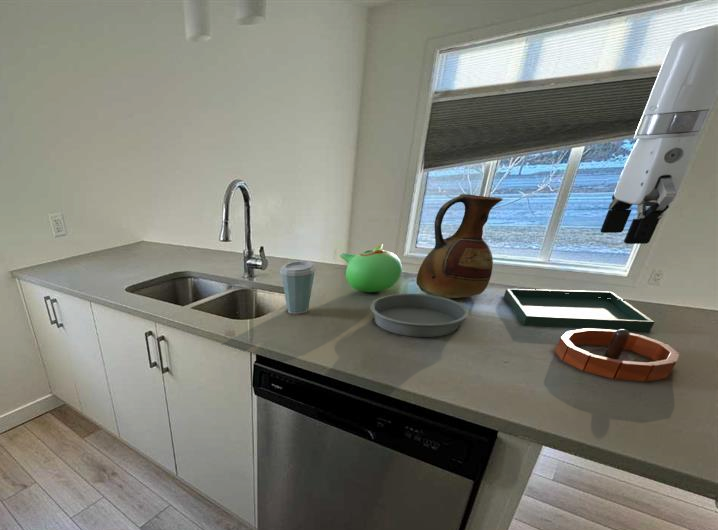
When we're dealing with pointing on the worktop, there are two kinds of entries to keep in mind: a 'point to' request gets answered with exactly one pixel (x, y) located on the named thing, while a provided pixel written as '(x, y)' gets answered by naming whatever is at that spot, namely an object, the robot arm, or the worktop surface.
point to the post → (616, 347)
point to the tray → (576, 310)
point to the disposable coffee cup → (298, 285)
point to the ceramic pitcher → (459, 253)
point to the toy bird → (372, 269)
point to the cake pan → (418, 314)
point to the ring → (612, 367)
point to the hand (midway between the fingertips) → (622, 237)
